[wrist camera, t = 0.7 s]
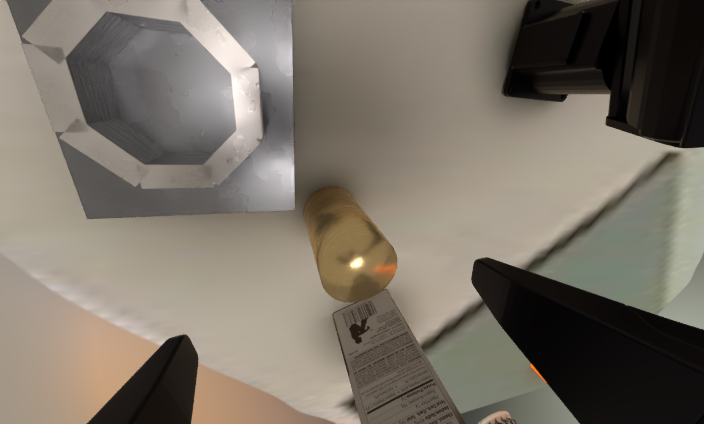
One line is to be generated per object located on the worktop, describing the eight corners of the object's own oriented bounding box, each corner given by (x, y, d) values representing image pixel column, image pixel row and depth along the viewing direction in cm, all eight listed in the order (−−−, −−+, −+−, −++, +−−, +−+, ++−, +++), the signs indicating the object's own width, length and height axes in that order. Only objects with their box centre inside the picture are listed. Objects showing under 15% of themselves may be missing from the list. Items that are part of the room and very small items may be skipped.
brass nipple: (358, 186, 21) (402, 232, 14) (354, 234, 23) (391, 296, 16) (303, 187, 20) (321, 238, 13) (303, 237, 21) (319, 307, 14)
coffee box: (405, 339, 31) (519, 549, 17) (355, 364, 30) (430, 605, 16) (387, 286, 26) (522, 508, 12) (329, 313, 26) (401, 582, 12)
